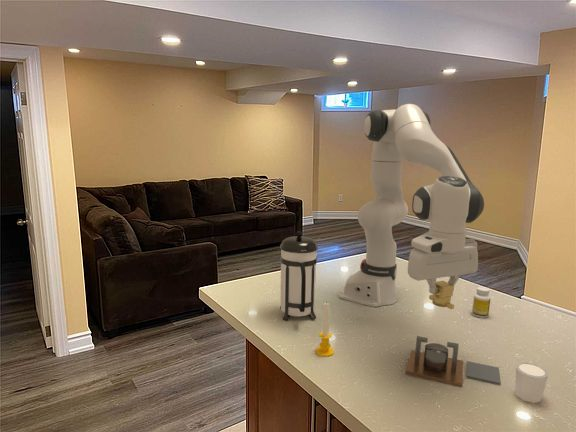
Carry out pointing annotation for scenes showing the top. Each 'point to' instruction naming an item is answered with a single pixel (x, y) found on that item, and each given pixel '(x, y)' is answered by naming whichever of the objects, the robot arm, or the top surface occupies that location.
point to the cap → (443, 295)
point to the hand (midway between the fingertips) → (441, 291)
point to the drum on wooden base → (435, 363)
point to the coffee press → (298, 276)
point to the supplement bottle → (481, 303)
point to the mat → (483, 373)
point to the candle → (325, 335)
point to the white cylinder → (530, 382)
